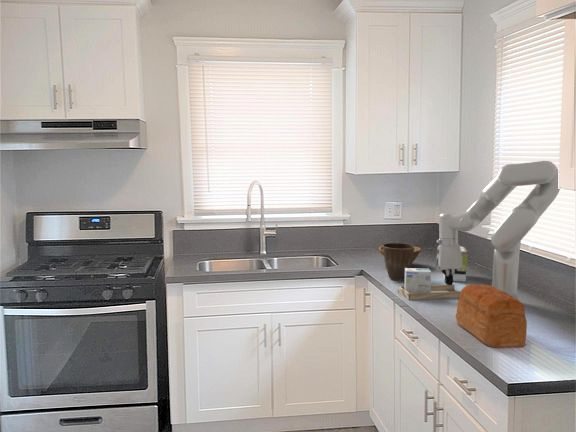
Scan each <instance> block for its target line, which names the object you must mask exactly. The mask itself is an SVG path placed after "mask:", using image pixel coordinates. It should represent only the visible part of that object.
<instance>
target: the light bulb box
mask: <svg viewBox="0 0 576 432" xmlns="http://www.w3.org/2000/svg"><path fill="white" fill-rule="evenodd" d="M431 285H432V271H431V269H430V268H419V267H417V268H416V267H414V268H412V267H410V268H405V279H404V285H403V286H404V290H406V291H407V292H409V293H431Z"/></svg>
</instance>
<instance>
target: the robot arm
mask: <svg viewBox="0 0 576 432" xmlns="http://www.w3.org/2000/svg"><path fill="white" fill-rule="evenodd" d="M558 170H559V169H558V167H557V165H556V164H555V163H553V162H552V161H550V160H540V161H539V160H537V161H532V162H524V163H508V164H505V165H503V166H501V168H500V169H499V171H498V173H497V175H496V176H495V177H494V178H492V180H491V181H490V182H489V183H488V184H487V185H486V186H485V187H484V188H483V189H482V190H481V192H480V195H479V196H478V198H477V199H476V201H474V202H473V204H471V206H470V207H469V208H468V209H467V210H466V211H465V212H463V213H456V212H442V213H440V214H439V216H438V225H439V226H438V229H439V234H438V235H439V238H438V239H436V240H435V241H436V243H437V249H436V259H435V266H436V272H438V273H443V274H444V275H445V280H444V283H445V285H453V283H454V281H453V276H454V274H455V273H456V271H459V270H461V267H462V253H461V248H460V244H459V237H458V236H459V232H470V231H472V230H473V229H475V228H477V227H478V226H479V225H480V224H481V222H483V221H484V220H485V219H486V218H487V216H488V215H490V214H491V212H492V211H493V210H494V209H496V208H497V207H498V206H499V205H500V204H501V203H502V202H503V200H505V199H506V198H507V197H508V196H509V194H511V193H512V191H513V190H515V189H516V188H517V187H519V186H520V187H521V186H522V187H523V186H533V185H534V187H533V189H532V190H531V191H530V192H529V193H528V195H527V196H526V197H525V198H524V200H523V201H522V202H521V203H519V205H517V206H516V207H514V208H513V209H512V210H511V211H510V212H509V213H508V215H507V216H506V217H505V218H504V219H503V221H502V222H501V223H500V224H499V225H498V227H497V228H496V229H495V230H494V231H493V233H492V234H491V236H490V242H491V245H492V247H493V263H492V275H491V276H492V278H491V280H492V281H491V286H492V287H494V288H496V289H498V290H501V291H503V292H505V293H507V294H509V295H510V296H512V297H513V298H515V299H517V300H518V301H519V302H521V300H520V298H518V279H519V266H520V263H519V261H520V251H521V243H522V241H521V240H523V239H524V237H525V236H526V235H527V234H528V233H529V232H530V231H531V230H532V228H534V226H535V225H536V224H537V223H538V221H539V218H541V216H542V215H543V214H544V213H545V212H546V211H547V209H548V208H549V207H550V206H551V204H552V203H553V202H554V201H555V199H556V198H557V197H558V195H559V193H560V191H561V188H560V189H558ZM438 244H439V245H438ZM448 269H449V271H448ZM443 274H442V275H443Z"/></svg>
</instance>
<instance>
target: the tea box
mask: <svg viewBox="0 0 576 432" xmlns="http://www.w3.org/2000/svg"><path fill="white" fill-rule="evenodd" d="M460 248H461V253H462V267H461V270H459V271H456V273H455V274H454V276H453V282H464V283H465V282H466V280H467V266H468V265H467V264H468V250H467V249H466V247H465V246H460ZM448 271H449V269H448ZM441 273H442V272H441ZM442 276H443V279H444V281H445V275H444V274H443V273H442Z"/></svg>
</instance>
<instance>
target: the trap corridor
mask: <svg viewBox="0 0 576 432" xmlns="http://www.w3.org/2000/svg"><path fill="white" fill-rule="evenodd" d="M455 286H456V285H455V284H453V283H452V285H447V284H433V285H432V284H431V293H409V292H407V291H406V290H404V285H403V286H402V285H401V286H400V285H399V286H397V293H399V294H400V295H401V296H403V297H404V298H405V299H408V300H410V301H411V300H435V299H437V300H438V299H440V300H441V299H459V298H460V294H461V290H460V291H459V290H458V291H457V290H456V289H455Z"/></svg>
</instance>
